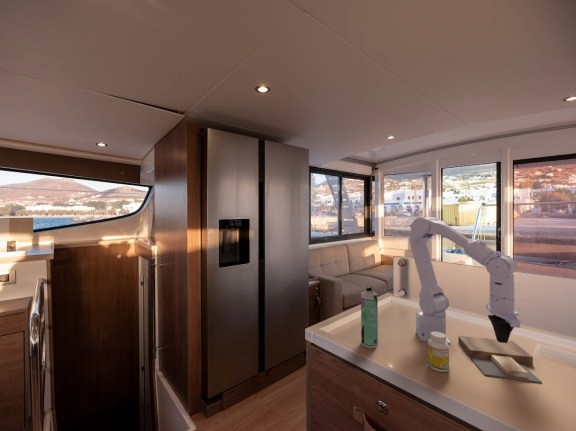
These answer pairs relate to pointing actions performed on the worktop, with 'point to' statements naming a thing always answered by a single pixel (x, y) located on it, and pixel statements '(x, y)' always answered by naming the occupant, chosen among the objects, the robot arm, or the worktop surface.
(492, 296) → the robot arm
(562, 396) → the worktop surface
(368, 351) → the worktop surface
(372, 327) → the spray can
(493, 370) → the rubber mat
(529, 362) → the walnut deck
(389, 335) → the worktop surface
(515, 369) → the birch tile
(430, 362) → the supplement bottle
